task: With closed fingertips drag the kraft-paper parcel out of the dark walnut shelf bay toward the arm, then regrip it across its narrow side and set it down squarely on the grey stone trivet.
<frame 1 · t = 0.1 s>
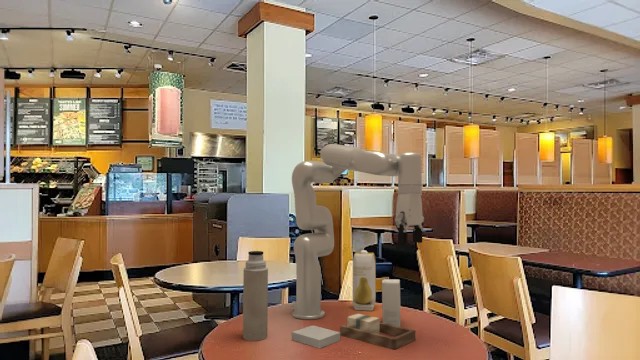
hand: (410, 243, 143), 31 cm above the table, fingers open, 9 cm apart
shelf bay: (375, 337, 146), on the table
parcel: (363, 334, 149), on the table
juice carton: (364, 309, 182), on the table
thermos bottle: (255, 337, 145), on the table
skincare box: (391, 324, 161), on the table
trivet: (316, 340, 142), on the table
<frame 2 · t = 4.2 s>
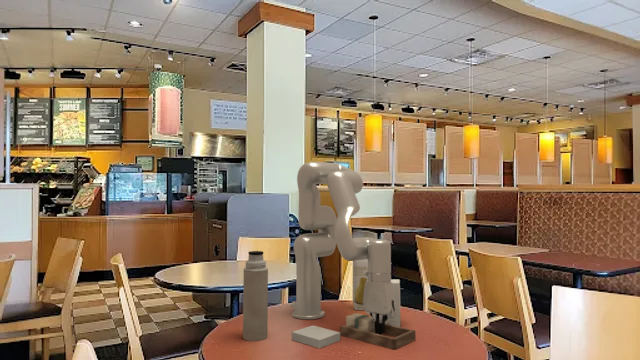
hand: (379, 333, 145), 1 cm above the table, fingers closed
parcel: (361, 333, 149), on the table, touching gripper
everything else where it was.
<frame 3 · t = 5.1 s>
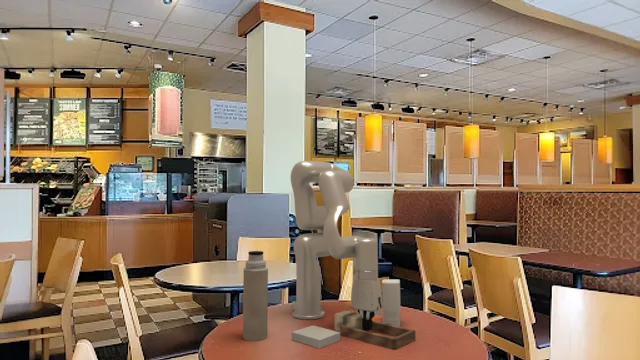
hand: (367, 330, 148), 2 cm above the table, fingers closed
parcel: (350, 330, 152), on the table, touching gripper
everything else where it was.
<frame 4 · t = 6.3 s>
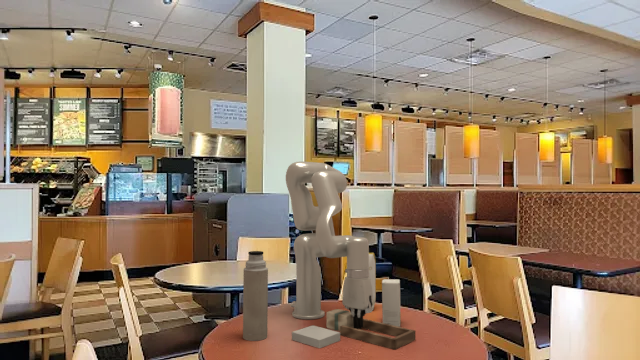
hand: (358, 328, 150), 2 cm above the table, fingers closed
parcel: (341, 328, 155), on the table, touching gripper
everything else where it was.
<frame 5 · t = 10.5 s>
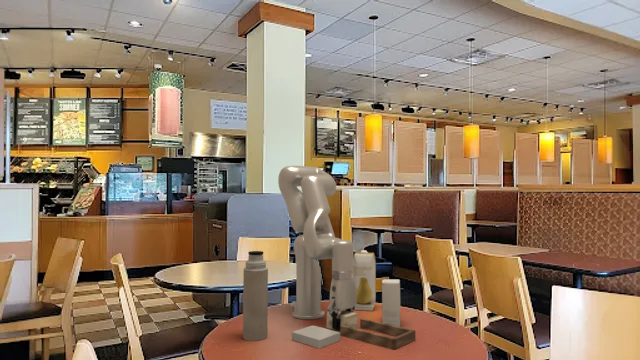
hand: (342, 326, 155), 1 cm above the table, fingers closed on parcel, 6 cm apart
parcel: (341, 328, 155), on the table, touching gripper
everything else where it was.
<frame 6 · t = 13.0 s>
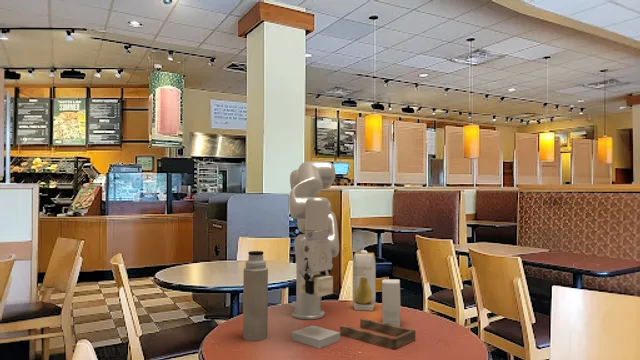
hand: (316, 291, 143), 16 cm above the table, fingers closed on parcel, 6 cm apart
parcel: (316, 293, 143), point 15 cm above the table, touching gripper
everything else where it was.
when the fingers open (4 cm above the table, at t = 15.5 s): parcel drops 1 cm, resting on trivet.
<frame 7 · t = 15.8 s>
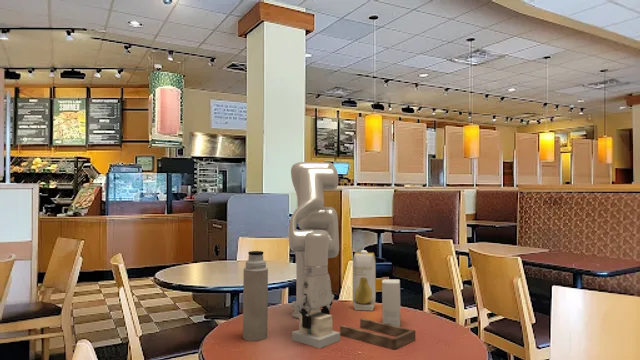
hand: (316, 324, 142), 5 cm above the table, fingers open, 8 cm apart
parcel: (315, 332, 143), point 2 cm above the table, touching trivet
everything else where it was.
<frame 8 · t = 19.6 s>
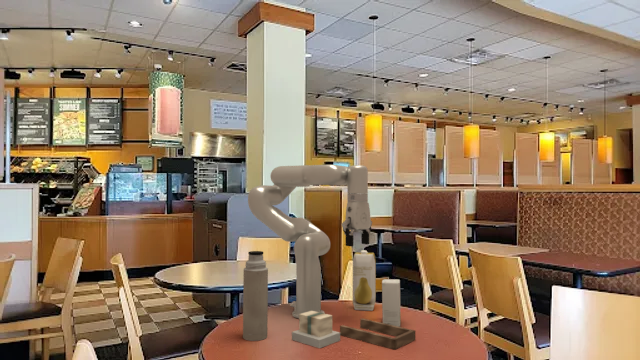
hand: (357, 245, 163), 28 cm above the table, fingers open, 9 cm apart
nothing on the table moved.
at the end: parcel inside the target area on the trivet (0.2 cm from its centre), point 2.5 cm above the trivet's base; parcel tilted 0°; the gripper is holding nothing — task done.
